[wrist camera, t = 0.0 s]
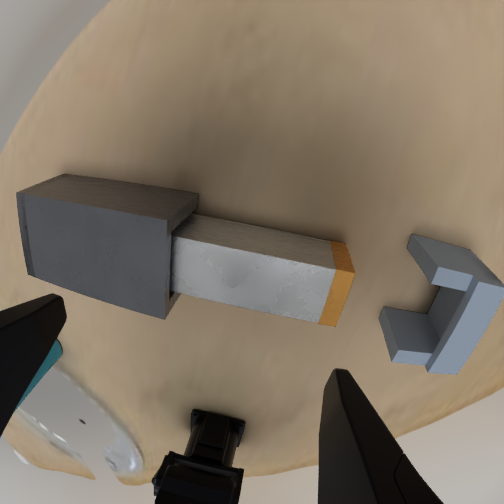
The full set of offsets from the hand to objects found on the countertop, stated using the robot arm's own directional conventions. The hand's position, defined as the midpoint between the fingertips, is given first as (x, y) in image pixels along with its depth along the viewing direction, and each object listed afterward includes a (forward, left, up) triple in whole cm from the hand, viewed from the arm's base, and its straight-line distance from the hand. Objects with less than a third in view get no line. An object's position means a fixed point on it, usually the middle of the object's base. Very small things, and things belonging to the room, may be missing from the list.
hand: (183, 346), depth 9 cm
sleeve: (-3, +10, -15) cm, 18 cm away
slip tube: (-3, +4, -15) cm, 16 cm away
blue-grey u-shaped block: (-3, -15, -15) cm, 21 cm away
